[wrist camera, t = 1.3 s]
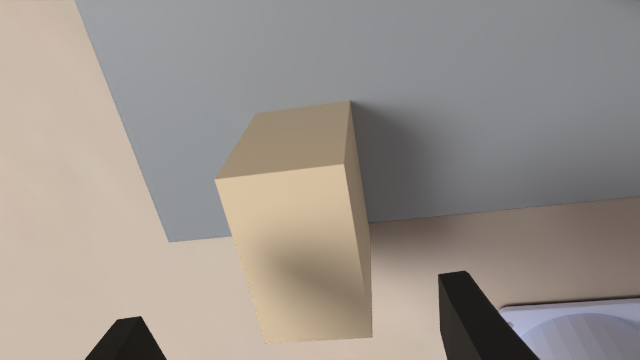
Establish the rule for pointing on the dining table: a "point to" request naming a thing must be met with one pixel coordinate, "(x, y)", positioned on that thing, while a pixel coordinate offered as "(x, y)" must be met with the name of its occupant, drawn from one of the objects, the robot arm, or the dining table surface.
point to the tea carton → (301, 223)
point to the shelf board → (382, 96)
